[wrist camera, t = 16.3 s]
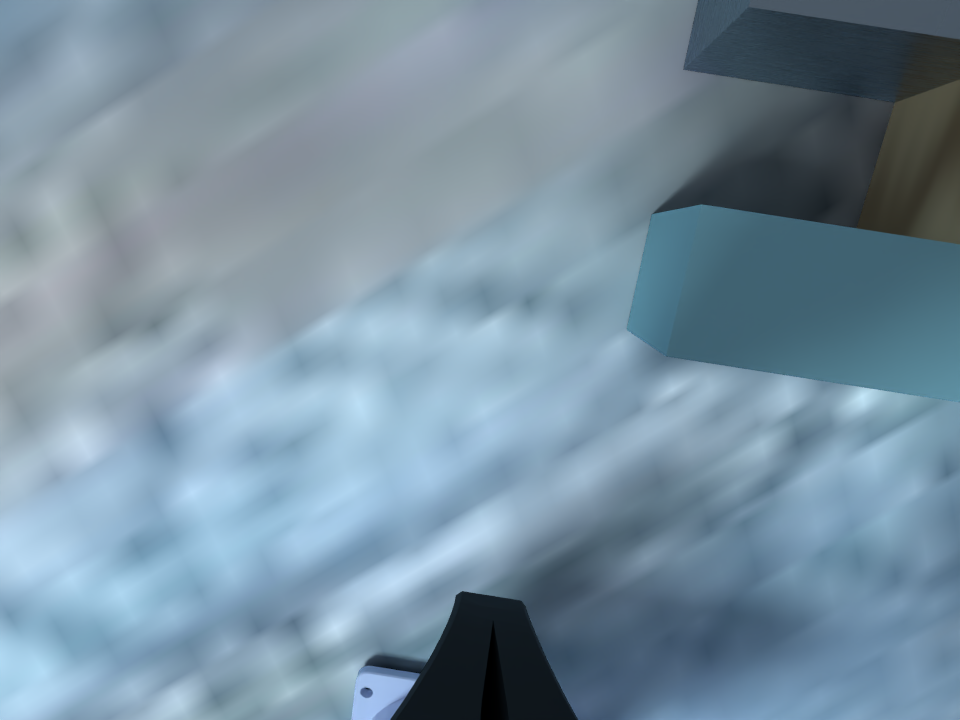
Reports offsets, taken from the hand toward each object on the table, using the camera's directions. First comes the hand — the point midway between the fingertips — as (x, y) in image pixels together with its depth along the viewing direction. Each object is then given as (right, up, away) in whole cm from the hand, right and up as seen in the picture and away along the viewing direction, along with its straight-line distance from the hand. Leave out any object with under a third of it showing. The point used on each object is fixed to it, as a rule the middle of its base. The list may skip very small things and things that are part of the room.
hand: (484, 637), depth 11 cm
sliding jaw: (+14, +7, +7) cm, 18 cm away
